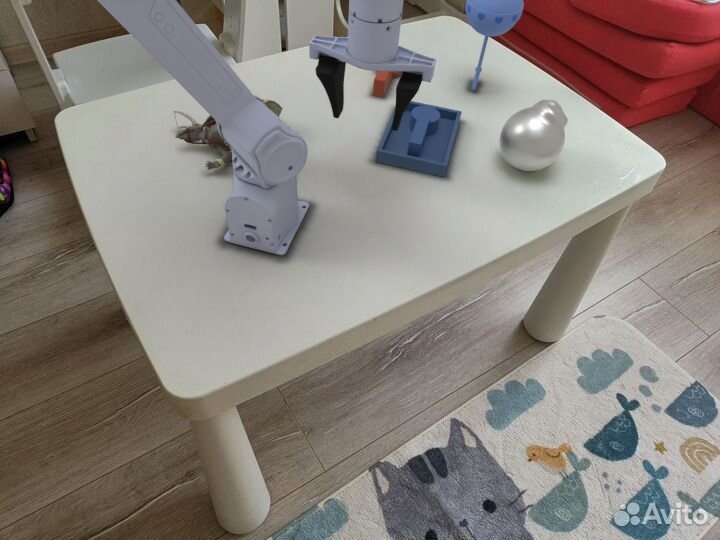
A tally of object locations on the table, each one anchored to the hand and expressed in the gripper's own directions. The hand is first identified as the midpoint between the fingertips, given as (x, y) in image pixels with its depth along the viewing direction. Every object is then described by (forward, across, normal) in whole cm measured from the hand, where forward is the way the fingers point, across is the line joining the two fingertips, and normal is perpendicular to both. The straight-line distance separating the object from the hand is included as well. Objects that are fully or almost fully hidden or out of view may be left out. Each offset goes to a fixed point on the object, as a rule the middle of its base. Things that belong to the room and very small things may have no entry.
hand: (366, 119), depth 66 cm
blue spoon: (+9, -6, -11) cm, 15 cm away
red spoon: (+9, +3, -26) cm, 28 cm away
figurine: (+10, +19, -2) cm, 21 cm away
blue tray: (+9, -6, -11) cm, 16 cm away
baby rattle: (+10, -12, -29) cm, 33 cm away
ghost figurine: (+10, -22, -11) cm, 26 cm away
